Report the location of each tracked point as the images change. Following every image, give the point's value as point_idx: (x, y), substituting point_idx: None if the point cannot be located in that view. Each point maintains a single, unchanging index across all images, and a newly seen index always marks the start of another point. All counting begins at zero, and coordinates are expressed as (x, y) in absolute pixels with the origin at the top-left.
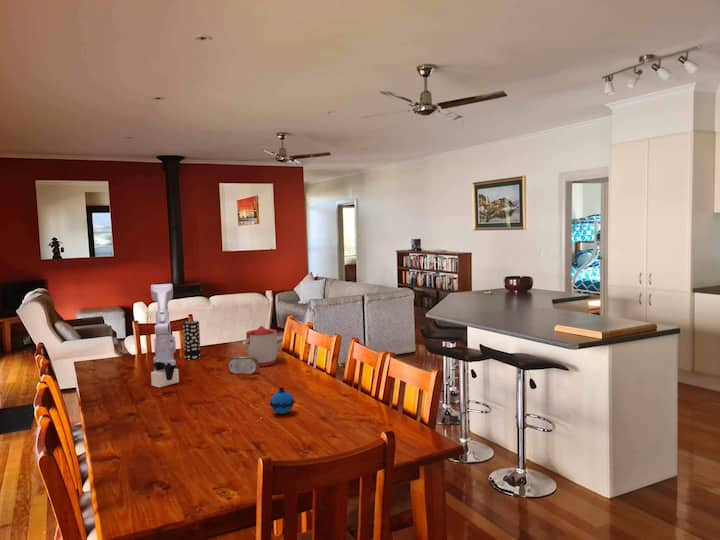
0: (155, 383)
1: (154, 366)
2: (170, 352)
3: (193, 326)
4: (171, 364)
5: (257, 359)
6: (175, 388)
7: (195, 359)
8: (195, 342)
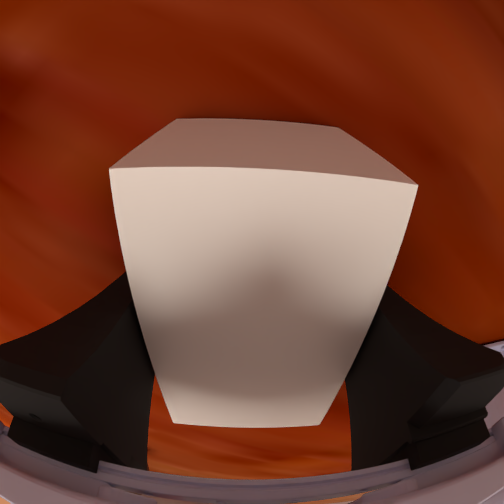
0: (257, 126)
1: (463, 344)
2: None
3: None
4: None
5: (142, 494)
6: (50, 206)
7: None
8: None
